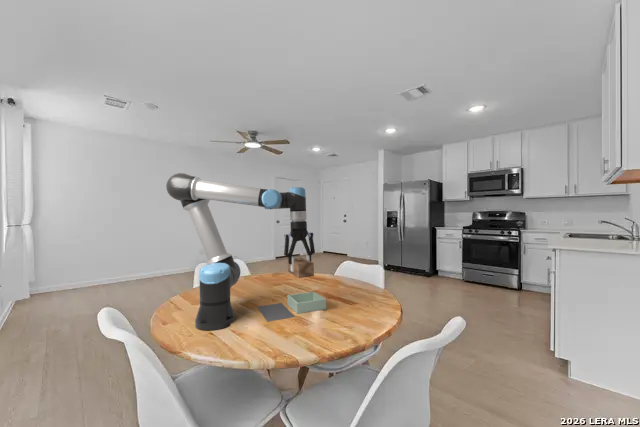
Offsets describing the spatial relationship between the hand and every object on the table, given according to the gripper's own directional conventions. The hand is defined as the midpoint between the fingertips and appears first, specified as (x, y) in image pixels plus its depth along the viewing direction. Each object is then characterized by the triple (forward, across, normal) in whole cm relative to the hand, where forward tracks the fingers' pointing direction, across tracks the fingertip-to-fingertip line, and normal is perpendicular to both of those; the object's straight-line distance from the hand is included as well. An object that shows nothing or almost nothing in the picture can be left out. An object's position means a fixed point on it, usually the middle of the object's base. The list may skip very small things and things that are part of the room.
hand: (300, 270), depth 127 cm
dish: (+18, +2, +1) cm, 18 cm away
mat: (+18, -12, 0) cm, 22 cm away
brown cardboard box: (+2, 0, 0) cm, 2 cm away
